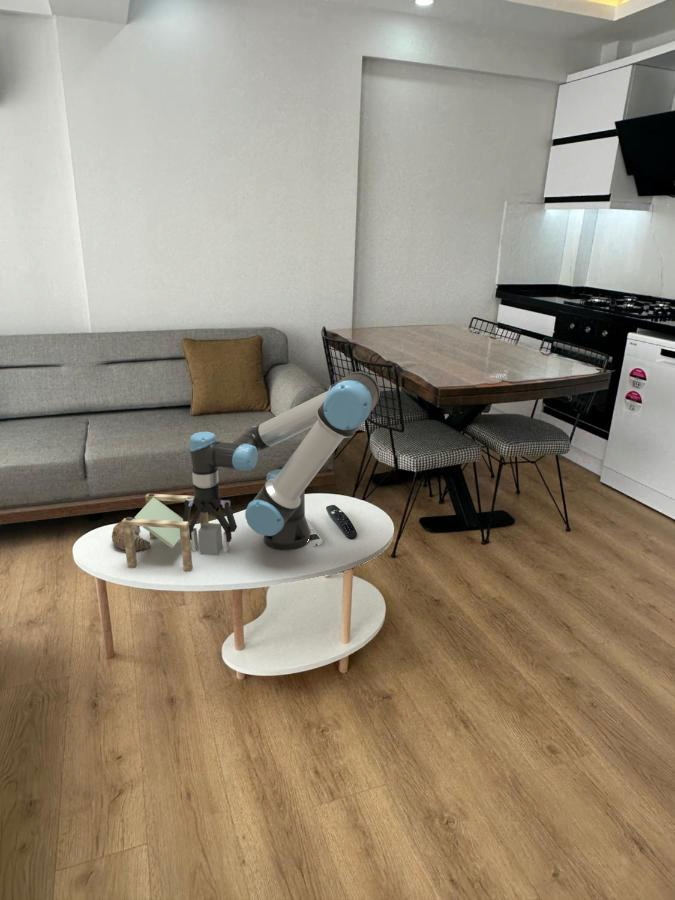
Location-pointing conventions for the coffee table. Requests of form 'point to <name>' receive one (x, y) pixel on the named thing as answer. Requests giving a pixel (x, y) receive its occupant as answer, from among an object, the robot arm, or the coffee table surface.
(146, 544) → the seashell
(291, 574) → the coffee table surface
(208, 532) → the grey rectangular block
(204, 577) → the coffee table surface
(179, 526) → the frame
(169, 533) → the trapdoor
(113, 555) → the coffee table surface
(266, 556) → the coffee table surface
